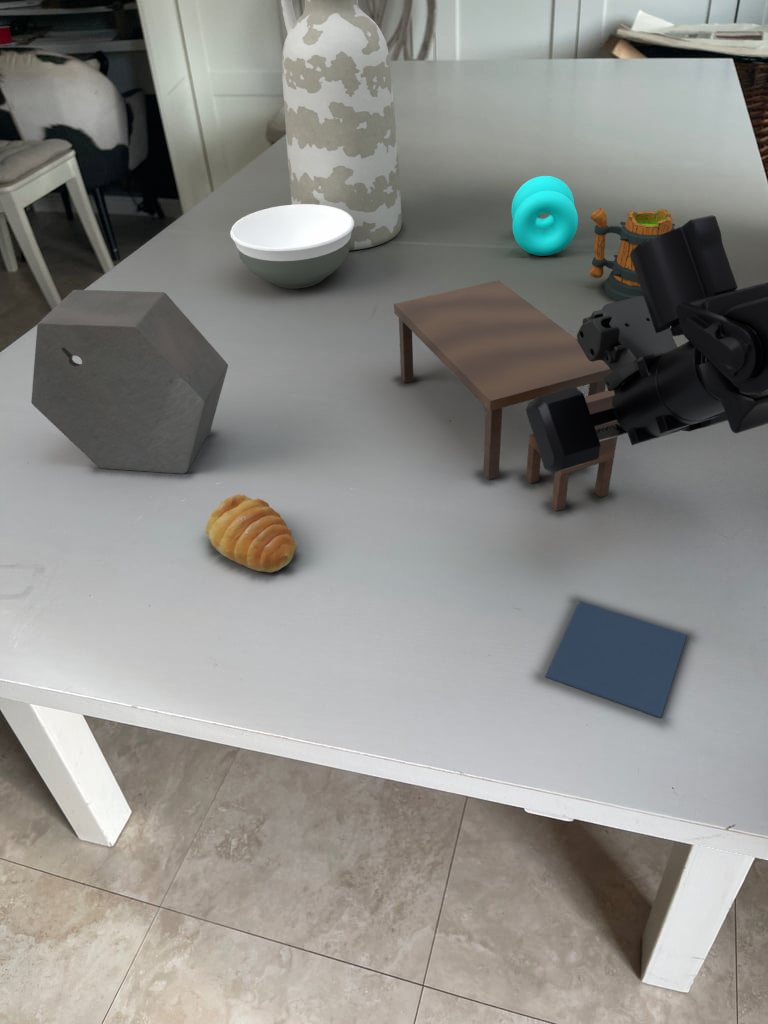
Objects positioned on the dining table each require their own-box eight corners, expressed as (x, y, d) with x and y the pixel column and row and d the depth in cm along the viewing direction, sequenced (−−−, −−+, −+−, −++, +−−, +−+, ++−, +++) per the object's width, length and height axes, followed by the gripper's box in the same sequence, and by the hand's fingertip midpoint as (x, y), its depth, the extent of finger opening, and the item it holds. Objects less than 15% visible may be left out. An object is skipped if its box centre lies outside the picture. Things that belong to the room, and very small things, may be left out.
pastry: (315, 552, 77) (311, 521, 74) (259, 589, 73) (253, 559, 71) (255, 510, 82) (249, 480, 79) (200, 543, 78) (192, 513, 76)
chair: (608, 495, 81) (625, 392, 73) (556, 511, 79) (568, 408, 72) (575, 463, 85) (588, 363, 78) (525, 478, 84) (533, 377, 76)
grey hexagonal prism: (261, 401, 89) (126, 247, 80) (240, 441, 83) (91, 279, 74) (160, 462, 97) (26, 328, 88) (134, 502, 91) (-12, 363, 82)
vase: (424, 227, 140) (420, -37, 116) (348, 261, 130) (326, -20, 106) (343, 203, 151) (323, -42, 127) (267, 233, 141) (230, -27, 117)
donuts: (570, 234, 134) (576, 172, 128) (575, 258, 127) (582, 193, 120) (509, 235, 135) (512, 173, 129) (511, 259, 128) (514, 194, 121)
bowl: (282, 247, 136) (275, 197, 131) (379, 263, 129) (376, 211, 124) (214, 291, 124) (204, 238, 119) (317, 311, 116) (311, 256, 111)
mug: (673, 277, 120) (688, 198, 112) (676, 307, 112) (692, 225, 105) (584, 273, 122) (592, 195, 115) (580, 302, 115) (589, 221, 107)
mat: (686, 636, 66) (686, 634, 66) (660, 718, 60) (661, 716, 60) (579, 602, 70) (580, 601, 70) (545, 677, 64) (545, 675, 64)
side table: (602, 449, 87) (614, 367, 81) (486, 483, 84) (490, 400, 77) (496, 353, 105) (499, 279, 98) (396, 378, 101) (393, 303, 95)
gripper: (755, 259, 63) (646, 329, 78) (547, 308, 58) (473, 373, 73) (802, 393, 62) (682, 437, 78) (596, 455, 58) (511, 489, 73)
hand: (589, 431), depth 75 cm, fingers open, 9 cm apart
